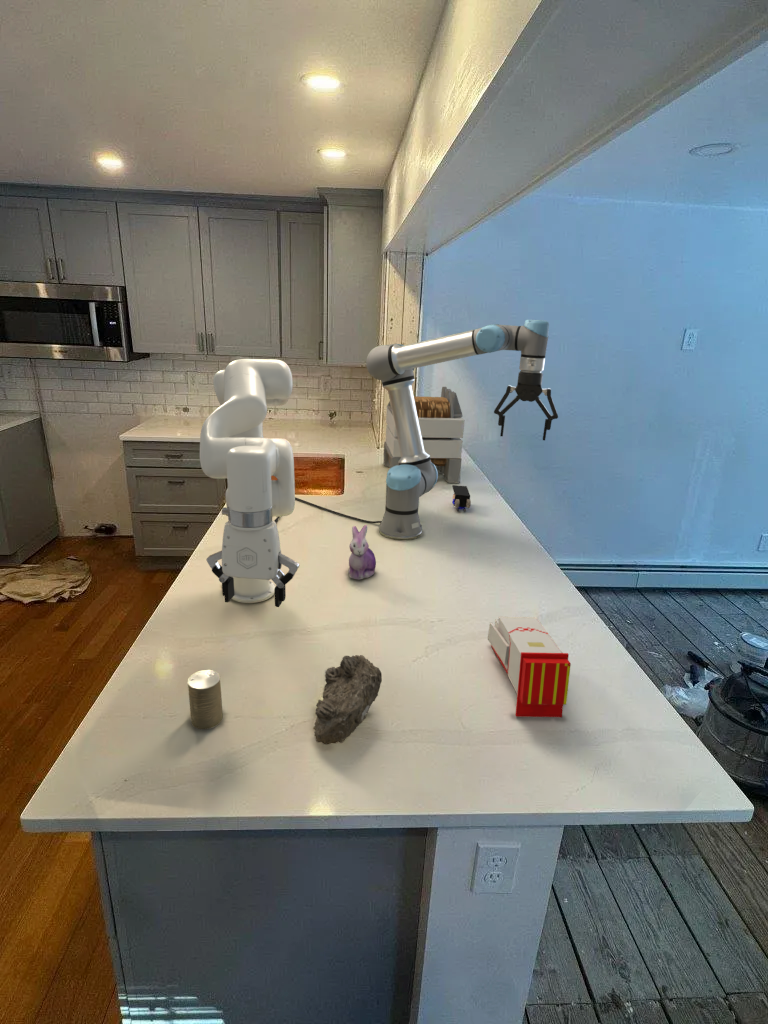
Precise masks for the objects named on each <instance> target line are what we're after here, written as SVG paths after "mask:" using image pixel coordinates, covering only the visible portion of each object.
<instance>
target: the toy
mask: <svg viewBox="0 0 768 1024" xmlns="http://www.w3.org/2000/svg"><path fill="white" fill-rule="evenodd" d="M488 625H489V627H488V633H487V641H488V642H489V644H490V646H491V647H490V648H491V649H492V650H493V652H494V654H495V656H496V658H497V659H498V660H499V662H500V664H501V666H502V668H503V669H504V671H505V673H506V674H507V676H508V678H509V680H510V682H511V685H512V686H513V689H514V690H515V693H516V704H515V717H516V718H517V717H518V718H519V717H520V718H521V717H522V718H563V710H564V705H567V701H568V692H569V685H570V684H569V683H570V676H571V675H570V674H571V666H572V664H571V661H570V660H569V655H570V654H569V653H568V652H563V651H562V649H561V648H560V647H559V646H558V644H557V643H556V642H555V640H554V639H553V638H552V636H551V635H550V634H549V632H548V631H547V629H546V628H545V627H544V626H543V624H542V622H541V621H540V620H539V619H538V618H537V616H498V618H496V619H494V623H493V622H489V624H488Z"/></svg>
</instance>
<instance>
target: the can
mask: <svg viewBox="0 0 768 1024" xmlns="http://www.w3.org/2000/svg"><path fill="white" fill-rule="evenodd" d="M187 686H188V687H187V690H188V702H189V710H190V711H189V712H190V722H191V725H192V726H193V727H194V728H196V729H199V730H209V729H212V728H215V727H217V726H218V725H219V724H220V723H221V722H222V720H223V716H224V715H223V701H222V683H221V675H220V673H219V672H217V671H215V670H211V669H204V670H199V671H195V672H194V673H193V674H191V675H190V676H189V677H188V679H187Z"/></svg>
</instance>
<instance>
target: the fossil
mask: <svg viewBox="0 0 768 1024" xmlns="http://www.w3.org/2000/svg"><path fill="white" fill-rule="evenodd" d="M324 673H325V675H324V677H325V679H324V681H325V684H324V687H323V692H322V700H321V699H318V700H317V702H316V705H315V706H316V707H317V708H316V709H315V711H316V712H315V716H316V717H315V721H314V726H313V728H312V729H313V730H314V737H315V741H316V742H317V743H322V744H323V745H325V746H327V745H331V744H337V743H339V744H342V743H344V742H345V741H346V740H347V739H348V738H349V737H350V736H351V735H352V734H353V733H354V732H355V731H356V730H357V728H358V727H359V726H360V725H361V724H363V722H364V720H365V719H366V717H367V714H369V711H370V709H371V707H372V705H373V702H376V699H377V697H379V692H380V689H381V685H382V679H383V678H382V677H383V675H382V672H381V670H380V668H379V667H378V666H375V665H374V663H373V662H371V661H370V660H369V659H368V658H366V657H365V656H364V655H362V654H360V655H358V654H356V655H352V656H350V655H344V656H343V657H342V659H341V661H340V664H339V666H336V667H335V666H331V667H328V668H326V670H325V672H324Z"/></svg>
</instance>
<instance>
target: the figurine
mask: <svg viewBox="0 0 768 1024" xmlns="http://www.w3.org/2000/svg"><path fill="white" fill-rule="evenodd" d="M351 528H352V529H351V534H352V539H351V541H350V543H349V551H350V552H351V553H350V555H349V558H348V567H349V568H348V571H347V572H348V574H349V576H348V577H349V578H350V579H354V580H363V579H368V578H370V577H372V576H373V575H374V574H375V571H376V566H377V560H376V555H375V553H374V552H373V550H372V549H371V548H369V547H370V545H369V542H368V541H367V539H366V536H367V533H368V525H367V524H365V525H363V527H362V528H361V529H360V531H359V529H358V528H357V526H356V525H353V526H352V527H351Z"/></svg>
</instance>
